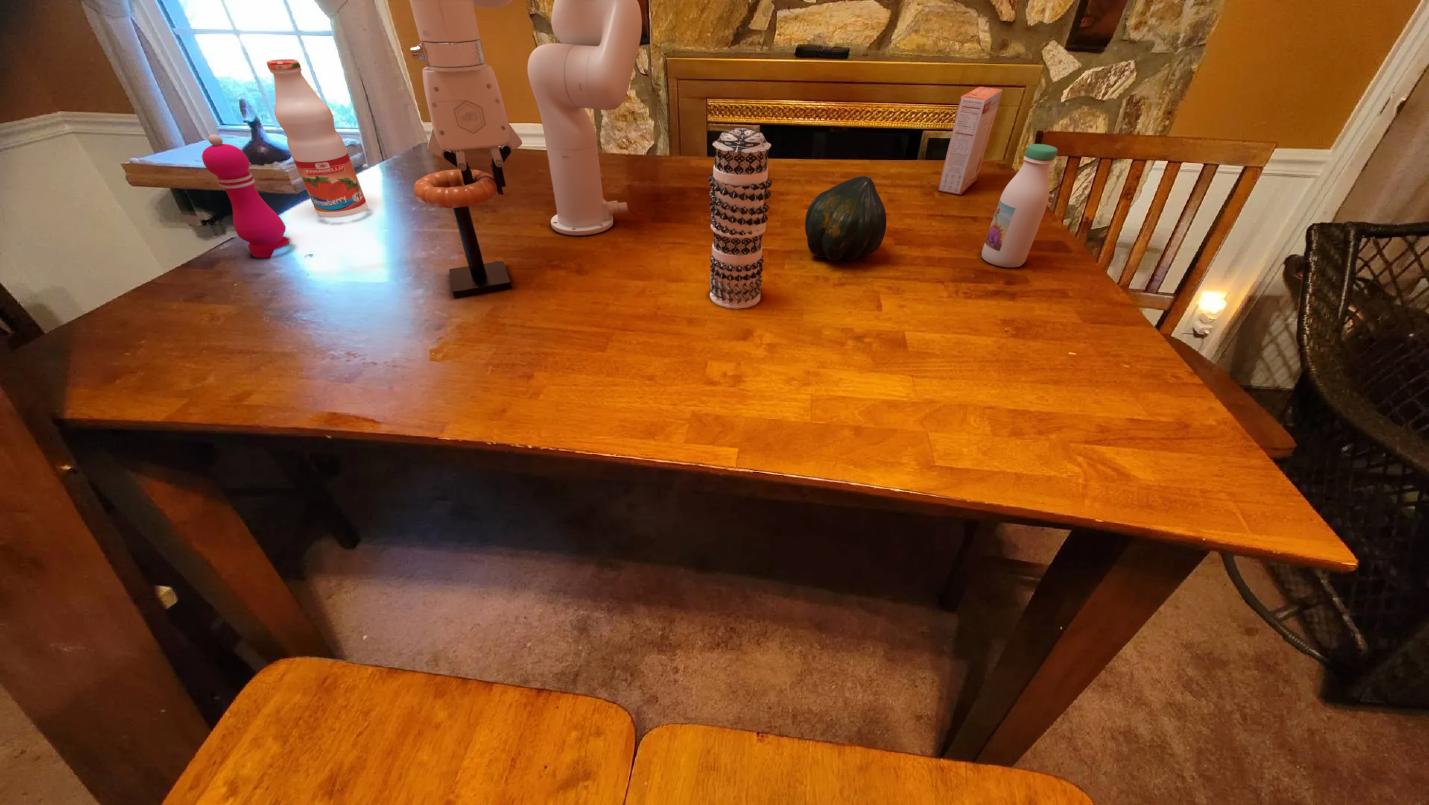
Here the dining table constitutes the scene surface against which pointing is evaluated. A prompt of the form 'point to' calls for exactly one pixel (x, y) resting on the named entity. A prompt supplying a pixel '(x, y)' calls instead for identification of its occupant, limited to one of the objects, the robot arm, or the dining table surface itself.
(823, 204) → the squash
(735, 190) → the decorative candle
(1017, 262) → the milk bottle
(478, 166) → the dining table surface
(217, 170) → the pepper mill
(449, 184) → the ring
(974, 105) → the cracker box
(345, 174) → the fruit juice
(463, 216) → the stand
